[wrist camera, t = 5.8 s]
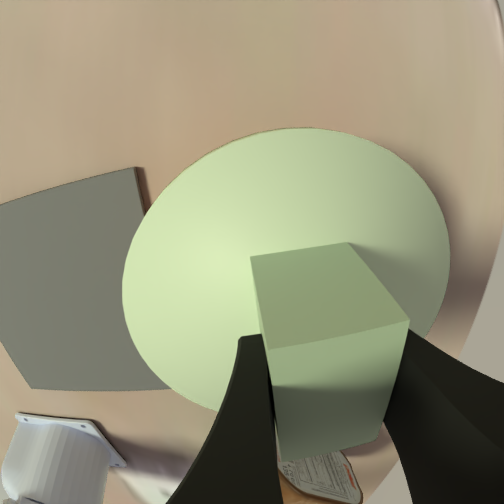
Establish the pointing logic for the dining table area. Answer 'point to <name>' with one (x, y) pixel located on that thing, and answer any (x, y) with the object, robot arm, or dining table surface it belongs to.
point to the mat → (72, 285)
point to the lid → (290, 278)
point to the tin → (318, 480)
